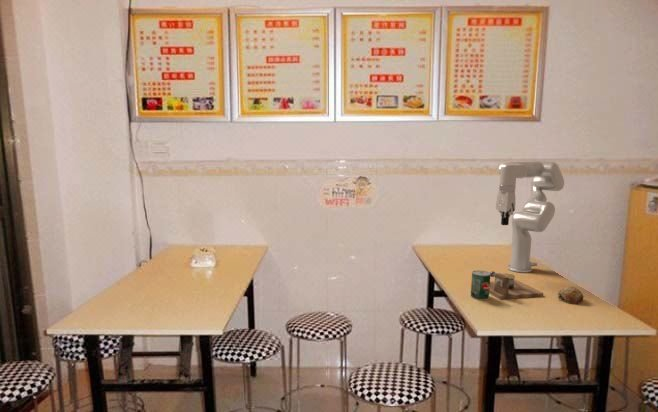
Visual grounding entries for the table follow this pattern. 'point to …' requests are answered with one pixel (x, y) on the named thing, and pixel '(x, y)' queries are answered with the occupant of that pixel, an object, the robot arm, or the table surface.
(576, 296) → the bread roll
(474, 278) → the canned tomato
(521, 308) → the table surface
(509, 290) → the stand
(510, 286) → the lever
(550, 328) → the table surface
